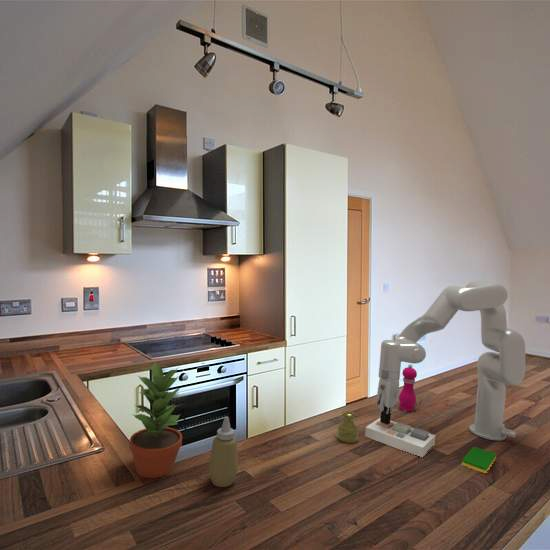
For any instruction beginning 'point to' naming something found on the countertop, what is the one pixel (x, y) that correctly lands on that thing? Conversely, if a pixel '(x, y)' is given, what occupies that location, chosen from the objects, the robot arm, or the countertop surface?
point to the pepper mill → (408, 389)
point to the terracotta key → (385, 424)
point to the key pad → (399, 439)
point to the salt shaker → (348, 428)
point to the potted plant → (156, 428)
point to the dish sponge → (479, 459)
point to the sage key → (402, 428)
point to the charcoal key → (419, 434)
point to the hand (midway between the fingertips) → (385, 422)
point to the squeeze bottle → (224, 456)
